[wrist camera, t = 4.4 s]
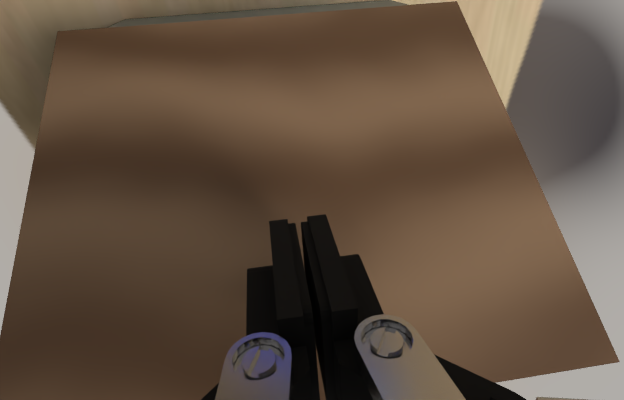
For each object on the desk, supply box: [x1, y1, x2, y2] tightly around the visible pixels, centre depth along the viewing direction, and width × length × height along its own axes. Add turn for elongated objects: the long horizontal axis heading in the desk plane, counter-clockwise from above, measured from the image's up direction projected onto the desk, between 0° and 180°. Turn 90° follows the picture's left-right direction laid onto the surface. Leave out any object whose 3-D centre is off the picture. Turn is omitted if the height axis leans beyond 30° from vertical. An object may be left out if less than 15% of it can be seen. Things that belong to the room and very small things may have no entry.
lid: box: [0, 1, 619, 400], centre depth 15 cm, size 17×18×2 cm
